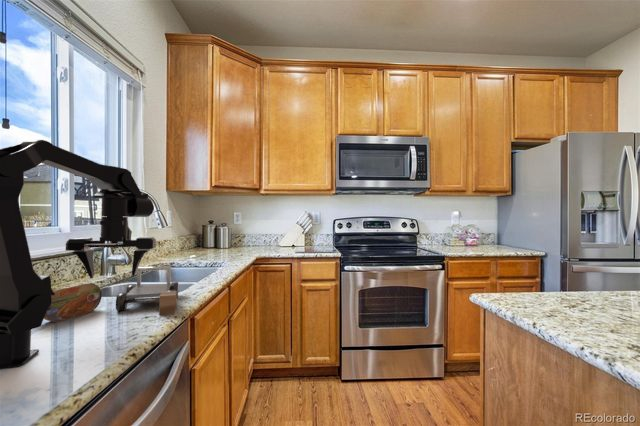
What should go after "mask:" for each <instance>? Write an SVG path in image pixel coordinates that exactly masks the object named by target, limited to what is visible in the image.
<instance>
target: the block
mask: <svg viewBox="0 0 640 426" xmlns="http://www.w3.org/2000/svg"><path fill="white" fill-rule="evenodd" d="M158 298H159V301H158V303H159V309H158V314H159V315H160V316H170V315H169V314H172V315H176V311H177V308H178V307H177V302H178V301H177V299H178V297H177V291H170V292H162V293H161V295H160V297H158ZM159 315H158V316H159Z"/></svg>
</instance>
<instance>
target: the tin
mask: <svg viewBox="0 0 640 426" xmlns="http://www.w3.org/2000/svg"><path fill="white" fill-rule="evenodd" d="M52 291H53V292H54V293H55V295H51V296H52V304H51V306H49V308H48V309H47V311H46V314H45V316H44V319H43V320H45V321H47V322H48V321H49V322H55V323H56V322H57V323H59V322H63V321H66V320H69V319H73V318H76V317H79V316H83V315H86V314H89V313H91V312H93V311H94V310H96V309H97V308H98V307H99V305H100V304H101V301H102V290H101V288H100V286H98V285H97V284H95V283H91V282H89V283H79V284H77V285H72V286H67V287H66V286H65V287H62V288H57V289H56V288H55V289H52Z"/></svg>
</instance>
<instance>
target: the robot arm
mask: <svg viewBox="0 0 640 426" xmlns="http://www.w3.org/2000/svg"><path fill="white" fill-rule="evenodd" d="M40 164H44V165H46V166H49V167H52V168H55V169H57V170H60V171H64V172H65V173H69V174H71V175H74V176H75V175H76V176H78V177H80V178H84V179H86V180H88V181H89V182H90V183H91V184H92V185H93V186H95V187H97V188H99V189H100V190H99V191H98V192H96V193H95V194H93V196H92V197H93V199H100V200H101V211H100V212H101V215H100V217H101V218H100V219H101V220H100V221H99V225H100V236H99V240H97V239H93V237H74V238H69V239H68V240H67V241H66V243H65V251H67V252H68V251H69V252H71V251H72V252H71V253H72V255H76V256H77V257H78V258H79V260H80V262H81V263H82V264H83V266H84V269H85V270H86V273H87V275H88V276H89V279H93V278H94V276H95V275H94V274H95V267H94V255H95V254H94V253H95V249H91V248H133V247H135V248H136V249H135V250H134V251H133V258H132V267H131V274H132V275H131V276H132V277H135V276H136V275H137V269H138V267H140V263H141V261H142V259H143V258H144V257H143V256H144V255H145V254H146V253H148V252H150V251H151V250H153V249H155V248H156V247H157V240H156V238H155V237H153V236H152V237H150V236H148V237H144V236H143V237H137V238H136V239H132V232H133V231H132V230H131V228H130V227H129V218H147V217H150V216H151V215H152V214H153V212H154V210H155V209H154V208H155V205H154V202H153V201H152V200H151V199H150V198H149V194H148V193H142V192H141V190H140V188H139V186H138V184H137V182H136V180H135V178H134V176H133V174H132V172H131V171H130V170H129V169H127V168H124V167H120V166H119V167H118V166H113V165H106V164H101V163H98V162H96V161H94V160H91V159H89V158H86V157H84V156H81V155H79V154H76V153H74V152H71V151H69V150H66V149H65V148H61V147H60V146H58V145H54V144H53V143H51V142H50V141H48V140H44V139H34V140H25V141H23V142H20V143H18V144H14V145H11V146H7V147H3V148H0V369H5V368H14V367H20V366H23V365H25V363H27V362H28V361H30V360H31V359H32V358H33V357H34V356H35V355H37V354H38V353H39V352H40V350H39V348H37V349H31V348H32V347H31V346H32V345H31V344H32V342H31V340H32V330H34V329H37V328H40V327H41V326H42V324H43V322H44V320H45V319H44V316H45V314H46V311H47V309H48V308H49V306H51V304H52V296H51V295H55V293H54V292H53V291H52V290H53V288H52V280H51V277H50V275H46V276H45V275H39V274H38V273H37V272H36V271H35V270H34V265H33V261H32V257H31V252H30V247H29V243H28V242H29V241H28V238H27V235H26V230H25V224H24V219H23V217H22V216H23V215H22V212H21V207H20V203H19V202H20V201H19V198H20V195H21V192H22V190H23V188H24V185H25V172H27V171H30V170H32V169H35V168H36V167H38V166H39V165H40ZM106 242H110V243H106Z"/></svg>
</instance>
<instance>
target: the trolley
mask: <svg viewBox="0 0 640 426" xmlns="http://www.w3.org/2000/svg"><path fill="white" fill-rule="evenodd" d="M171 268H172V266H171V265H168V266H166V265H165V266H164V265H163V266H138V269H137V271H136V284H135V283H134V284H127V286H126V291H125V292H119V293H117V295H116V299H115V310H116V311H117V312H120V311H126V310H127V308H128V304H134V303H136V304H137V303H148V302H159V297H160V295H161V293H162V292H170V291H177V298H178V297H179V282H178V281H176V282H175V281H173V282H171V277H172V276H171V271H172V269H171ZM142 271H143V272H145V271H166V283H157V284H156V283H155V284H152V283H151V284H142Z"/></svg>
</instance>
